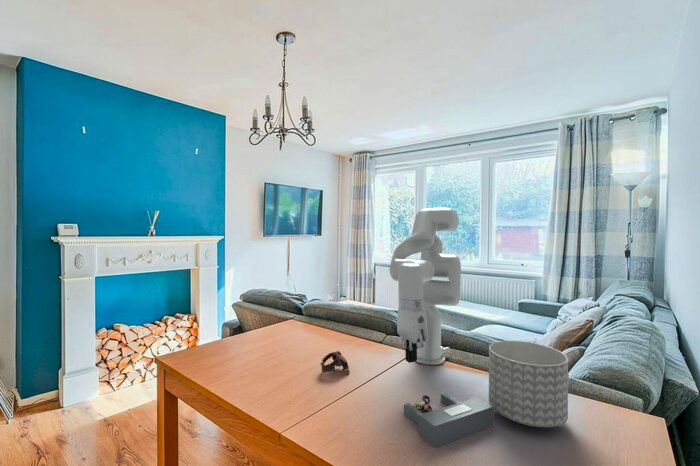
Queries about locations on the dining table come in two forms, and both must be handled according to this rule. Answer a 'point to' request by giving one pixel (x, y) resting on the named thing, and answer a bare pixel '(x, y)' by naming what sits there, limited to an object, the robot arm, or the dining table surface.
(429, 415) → the dock
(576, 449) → the dining table surface
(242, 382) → the dining table surface
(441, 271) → the robot arm
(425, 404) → the composite cable
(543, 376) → the planter
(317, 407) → the dining table surface
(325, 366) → the pottery mug
